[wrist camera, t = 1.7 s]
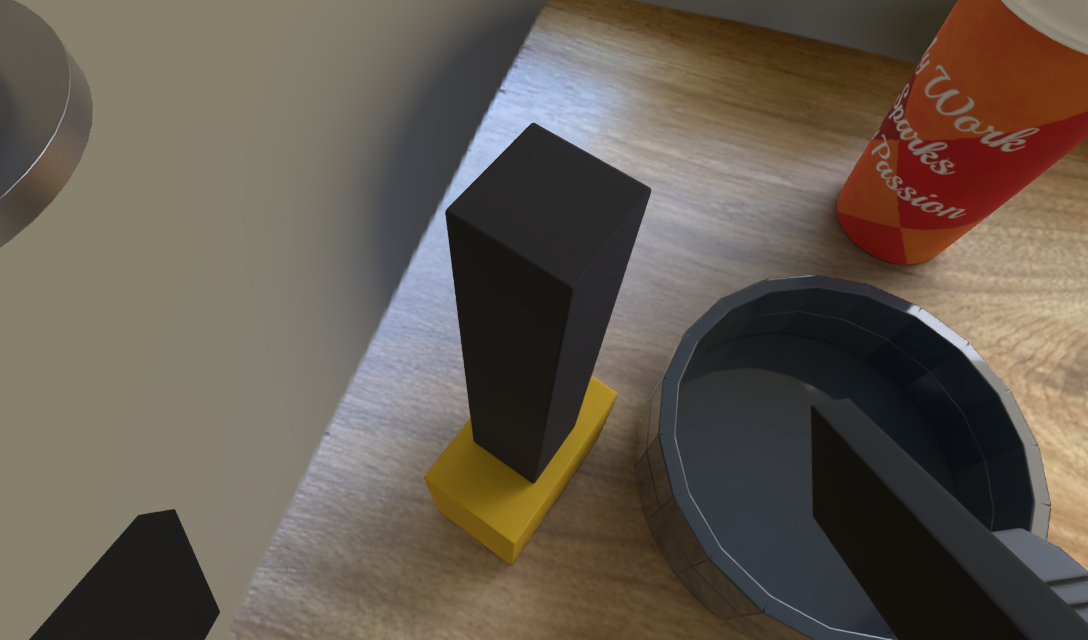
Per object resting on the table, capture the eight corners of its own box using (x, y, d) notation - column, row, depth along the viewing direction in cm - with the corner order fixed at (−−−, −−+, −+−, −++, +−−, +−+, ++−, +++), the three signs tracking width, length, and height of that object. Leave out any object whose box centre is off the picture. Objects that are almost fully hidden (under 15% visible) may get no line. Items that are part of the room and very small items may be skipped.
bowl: (650, 305, 29) (674, 249, 25) (941, 356, 29) (1011, 308, 25) (617, 620, 23) (642, 613, 19) (987, 691, 23) (1091, 699, 19)
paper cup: (792, 168, 33) (964, -119, 21) (923, 153, 35) (1160, -129, 22) (853, 296, 30) (1103, 43, 18) (997, 274, 31) (1328, 22, 19)
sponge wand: (437, 509, 24) (334, 270, 9) (528, 390, 27) (564, 49, 12) (511, 566, 23) (532, 405, 8) (598, 437, 26) (733, 137, 11)
